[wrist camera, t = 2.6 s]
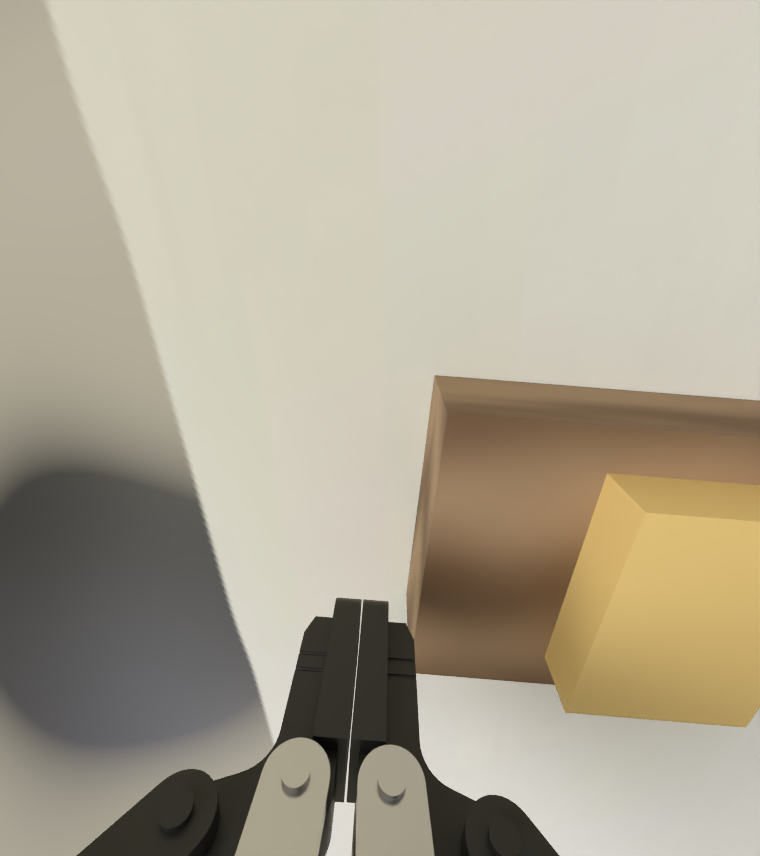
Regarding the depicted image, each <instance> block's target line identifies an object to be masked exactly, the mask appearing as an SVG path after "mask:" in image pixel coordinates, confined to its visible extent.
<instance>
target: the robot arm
mask: <svg viewBox="0 0 760 856" xmlns="http://www.w3.org/2000/svg"><path fill="white" fill-rule="evenodd" d="M360 614H361V600H360V599H348V598H336V603H335V608H334V614H333V618H329V617H317V616H316V617H315V618H314V620H313V621H312V622H311V624H310V625H309V626H308V628H307V629H306V630H305V632H304V636H303V640H302V644H301V648H300V654H299V657H298V661H297V665H296V670H295V673H294V677H293V681H292V685H291V689H290V694H289V698H288V702H287V706H286V710H285V714H284V718H283V722H282V727H281V731H280V734H279V737H278V739H277V741H276V743H275V745H274V747H273V748H272V750H271V751H270V752H269V754H268V755H267V756H266V757H265V758H264V759H263V760H262V761H261V762H259V763H258V764H257V765H255V766H254V767H252V768H250V769H248V770H246V771H243V772H240V773H237V774H234V775H231V776H228V777H224V778H221V779H218V780H215V781H213V779H211V777H210V776H209V775H208V774H206V773H205V772H203V771H201V770H196V769H187V770H183V771H180V772H177V773H175V774H173V775H171V776H169V777H168V778H166V779H165V780H164V781H162V782H161V783H160V784H159V785H157V786H156V787H155V788H154V789H153V790H152V791H151V792H149V793H148V794H147V795H146V796H145V797H144V798H143V799H141V800H140V801H139V802H138V803H137V804H136V805H134V806H133V807H132V808H131V809H130V810H129V811H128V812H127V813H125V814H124V815H123V816H122V817H121V818H120V819H118V820H117V821H116V822H115V823H114V824H113V825H112V826H110V827H109V828H108V829H107V830H106V831H105V832H103V833H102V834H101V835H100V836H99V837H98V838H96V839H95V840H94V841H93V842H92V843H91V844H90V845H88V846H87V847H86V848H85V849H84V850H83V851H82V852H80V853H79V854H78V855H77V856H326V854H327V850H328V847H329V843H330V838H331V831H332V822H333V813H334V803H335V802H344V794H345V784H346V773H347V762H348V752H349V741H350V730H351V719H352V709H353V698H354V687H355V676H356V666H357V655H358V643H359V629H360ZM347 802H350V803H355V813H354V827H353V842H352V856H559V855H558V854H557V852H556V851H555V850H554V849H553V847H552V846H551V845H550V844H549V842H548V841H547V840H546V839H545V837H544V836H543V835H542V834H541V833H540V831H539V830H538V829H537V828H536V826H535V825H534V824H533V823H532V821H531V820H530V819H529V818H528V816H527V815H526V814H525V813H524V812H523V811H522V810H521V808H519V807H518V806H517V805H516V804H515V803H513V802H512V801H510V800H509V799H506V798H504V797H502V796H497V795H488V796H484V797H482V798H480V799H478V800H477V801H474V800H472V799H470V798H468V797H466V796H464V795H462V794H460V793H458V792H456V791H454V790H452V789H450V788H449V787H447V786H445V785H444V784H442V783H441V782H440V781H439V780H438V779H437V778H436V777H435V776H434V775H433V774H432V773H431V771H430V770H429V768H428V767H427V765H426V763H425V761H424V758H423V756H422V752H421V749H420V741H419V722H418V704H417V685H416V666H415V647H414V639H413V637H412V635H411V633H410V631H409V629H408V627H407V625H406V623H394V622H388V601H375V600H364V601H363V612H362V623H361V634H360V645H359V656H358V667H357V678H356V689H355V701H354V712H353V723H352V734H351V747H350V762H349V776H348V791H347Z"/></svg>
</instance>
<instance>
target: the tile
mask: <svg viewBox="0 0 760 856" xmlns="http://www.w3.org/2000/svg"><path fill="white" fill-rule="evenodd" d="M545 660H546V662H547V665H548V668H549V670H550V673H551V676H552V678H553V681H554V684H555V686H556V689H557V692H558V694H559V697H560V700H561V702H562V705H563V708H564V710H565V712H566V713H578V714H591V715H603V716H615V717H627V718H639V719H651V720H663V721H675V722H688V723H700V724H712V725H724V726H736V727H746V726H747V725H748V723H749V722H750V721H751V719H752V718H753V716H754V715H755V713H756V712H757V711H758V709H759V708H760V485H749V484H736V483H723V482H711V481H698V480H686V479H673V478H660V477H648V476H635V475H623V474H610V473H607V475H606V478H605V481H604V484H603V487H602V490H601V493H600V496H599V499H598V501H597V504H596V507H595V510H594V513H593V516H592V519H591V522H590V525H589V528H588V531H587V534H586V537H585V540H584V543H583V545H582V548H581V551H580V554H579V557H578V560H577V563H576V566H575V569H574V572H573V575H572V578H571V581H570V584H569V587H568V589H567V592H566V595H565V598H564V601H563V604H562V607H561V610H560V613H559V616H558V619H557V622H556V625H555V628H554V631H553V633H552V636H551V639H550V642H549V645H548V648H547V651H546V654H545Z"/></svg>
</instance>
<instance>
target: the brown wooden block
mask: <svg viewBox="0 0 760 856" xmlns="http://www.w3.org/2000/svg"><path fill="white" fill-rule="evenodd" d="M607 473H610V474H623V475H635V476H648V477H660V478H673V479H686V480H698V481H711V482H723V483H736V484H749V485H760V401H755V400H742V399H729V398H716V397H703V396H691V395H678V394H665V393H652V392H640V391H627V390H614V389H601V388H588V387H576V386H563V385H550V384H537V383H525V382H512V381H499V380H486V379H473V378H461V377H448V376H435V377H434V385H433V393H432V400H431V408H430V416H429V424H428V431H427V439H426V447H425V455H424V462H423V470H422V478H421V486H420V493H419V501H418V509H417V517H416V524H415V532H414V540H413V548H412V555H411V563H410V571H409V579H408V586H407V623H408V629H409V631H410V633H411V635H412V637H413V639H414V647H415V666H416V673H419V674H431V675H443V676H456V677H468V678H480V679H492V680H504V681H516V682H529V683H541V684H553V685H555V684H554V681H553V678H552V676H551V673H550V670H549V668H548V665H547V662H546V660H545V654H546V651H547V648H548V645H549V642H550V639H551V636H552V633H553V631H554V628H555V625H556V622H557V619H558V616H559V613H560V610H561V607H562V604H563V601H564V598H565V595H566V592H567V589H568V587H569V584H570V581H571V578H572V575H573V572H574V569H575V566H576V563H577V560H578V557H579V554H580V551H581V548H582V545H583V543H584V540H585V537H586V534H587V531H588V528H589V525H590V522H591V519H592V516H593V513H594V510H595V507H596V504H597V501H598V499H599V496H600V493H601V490H602V487H603V484H604V481H605V478H606V475H607Z"/></svg>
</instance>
